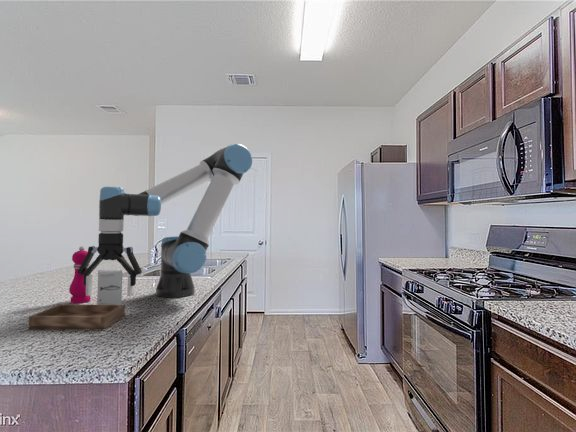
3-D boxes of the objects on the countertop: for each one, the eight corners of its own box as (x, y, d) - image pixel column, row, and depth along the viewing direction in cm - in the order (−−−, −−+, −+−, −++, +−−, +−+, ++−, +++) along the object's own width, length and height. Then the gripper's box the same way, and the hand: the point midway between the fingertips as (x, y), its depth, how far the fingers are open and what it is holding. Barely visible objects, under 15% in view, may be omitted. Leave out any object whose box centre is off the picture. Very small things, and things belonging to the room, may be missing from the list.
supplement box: (96, 311, 117) (97, 272, 118) (97, 306, 124) (97, 269, 124) (121, 309, 121) (122, 271, 121) (120, 304, 127) (121, 268, 127)
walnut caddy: (124, 316, 113) (124, 304, 113) (104, 329, 99) (104, 317, 99) (58, 315, 112) (58, 304, 112) (28, 329, 98) (28, 316, 98)
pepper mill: (64, 302, 129) (65, 246, 129) (82, 298, 135) (83, 245, 136) (78, 304, 126) (79, 247, 126) (96, 300, 133) (97, 246, 133)
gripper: (152, 232, 127) (150, 293, 127) (79, 231, 126) (77, 292, 126) (144, 233, 120) (143, 297, 119) (67, 232, 118) (65, 297, 118)
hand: (109, 295), depth 122 cm, fingers open, 13 cm apart
